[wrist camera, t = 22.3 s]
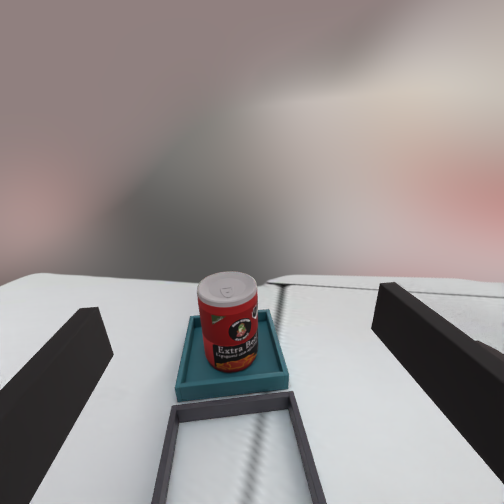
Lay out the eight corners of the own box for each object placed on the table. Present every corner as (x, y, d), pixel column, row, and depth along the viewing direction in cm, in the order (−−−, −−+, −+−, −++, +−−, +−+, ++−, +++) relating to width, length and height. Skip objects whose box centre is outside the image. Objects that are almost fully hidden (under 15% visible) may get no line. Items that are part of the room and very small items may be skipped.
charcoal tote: (292, 403, 27) (293, 390, 26) (348, 604, 15) (353, 591, 14) (174, 418, 26) (171, 405, 25) (130, 650, 14) (122, 639, 13)
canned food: (215, 384, 29) (206, 309, 25) (198, 342, 36) (189, 278, 32) (269, 361, 32) (269, 291, 28) (244, 326, 39) (241, 266, 35)
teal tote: (269, 320, 41) (269, 309, 40) (288, 388, 29) (289, 375, 28) (191, 327, 40) (190, 316, 39) (177, 402, 27) (174, 388, 27)
